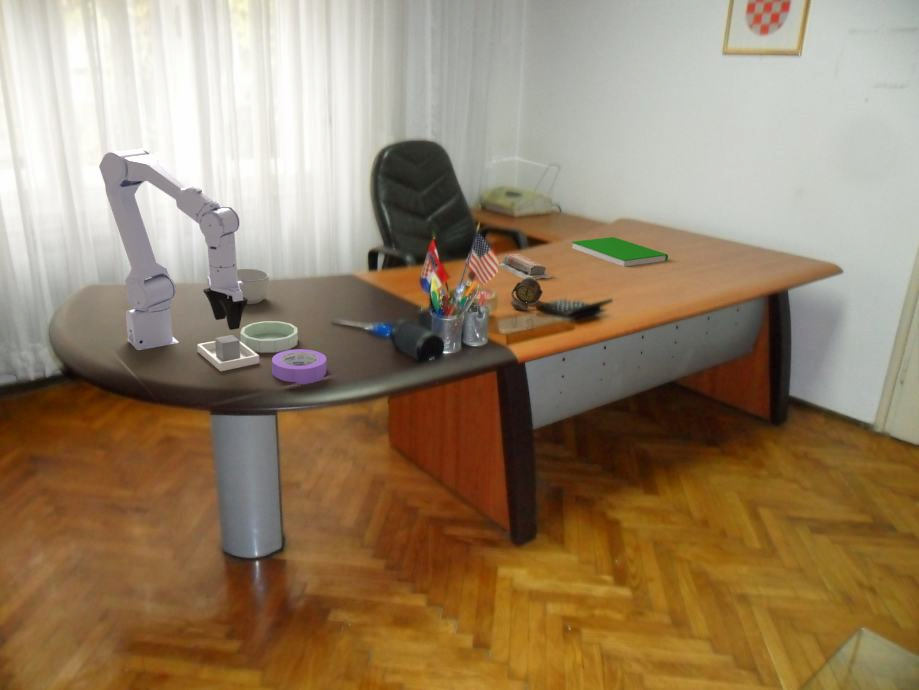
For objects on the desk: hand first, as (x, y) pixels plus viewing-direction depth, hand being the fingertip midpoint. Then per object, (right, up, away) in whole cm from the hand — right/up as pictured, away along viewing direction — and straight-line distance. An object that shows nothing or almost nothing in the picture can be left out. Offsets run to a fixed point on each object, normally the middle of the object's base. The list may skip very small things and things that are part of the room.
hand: (227, 323), depth 169 cm
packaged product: (+73, +19, +86) cm, 115 cm away
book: (+111, +29, +116) cm, 164 cm away
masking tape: (+16, -11, -2) cm, 20 cm away
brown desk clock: (+70, +7, +53) cm, 89 cm away
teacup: (-7, +7, +41) cm, 42 cm away
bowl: (+6, -5, +13) cm, 15 cm away
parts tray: (-1, -8, +3) cm, 9 cm away
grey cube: (-1, -8, +3) cm, 8 cm away
